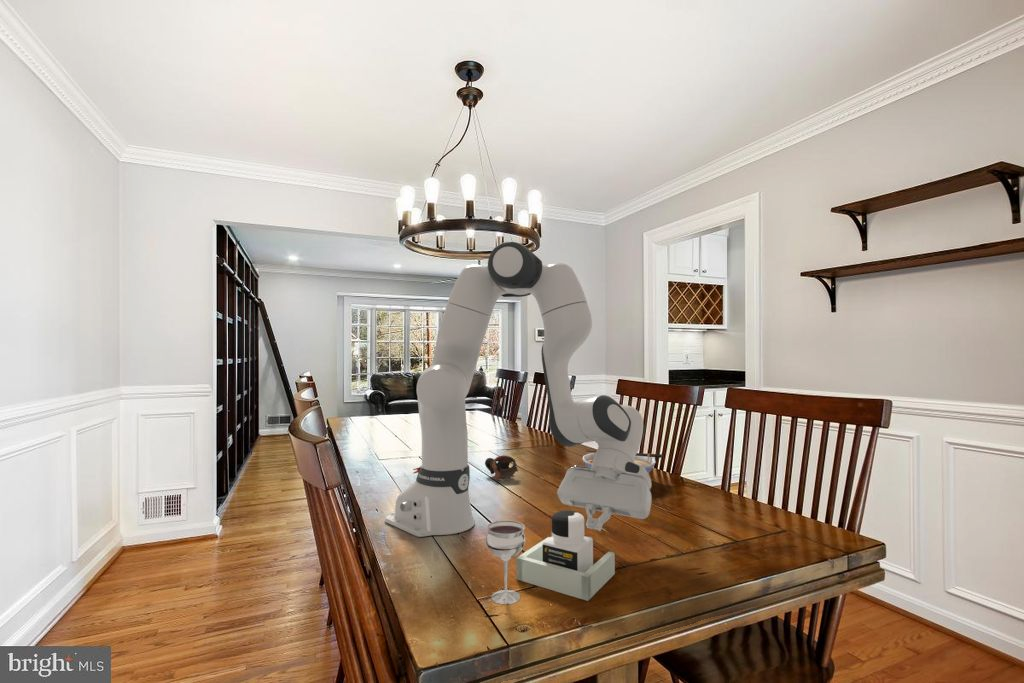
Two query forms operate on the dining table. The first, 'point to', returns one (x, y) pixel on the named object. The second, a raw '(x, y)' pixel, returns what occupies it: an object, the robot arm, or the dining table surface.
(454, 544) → the dining table surface
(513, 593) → the wineglass
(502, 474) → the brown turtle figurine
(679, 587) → the dining table surface
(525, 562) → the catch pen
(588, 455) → the ramen bowl
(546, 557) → the medicine bottle
